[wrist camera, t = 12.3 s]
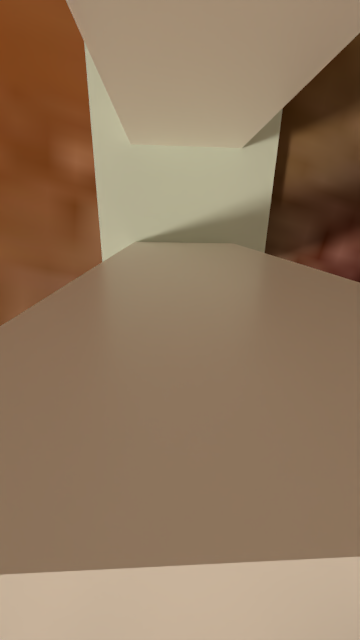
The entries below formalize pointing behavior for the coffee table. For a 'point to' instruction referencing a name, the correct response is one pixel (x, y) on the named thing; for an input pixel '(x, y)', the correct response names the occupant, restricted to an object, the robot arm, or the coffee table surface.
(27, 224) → the coffee table surface
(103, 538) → the domino
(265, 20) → the domino
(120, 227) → the board
